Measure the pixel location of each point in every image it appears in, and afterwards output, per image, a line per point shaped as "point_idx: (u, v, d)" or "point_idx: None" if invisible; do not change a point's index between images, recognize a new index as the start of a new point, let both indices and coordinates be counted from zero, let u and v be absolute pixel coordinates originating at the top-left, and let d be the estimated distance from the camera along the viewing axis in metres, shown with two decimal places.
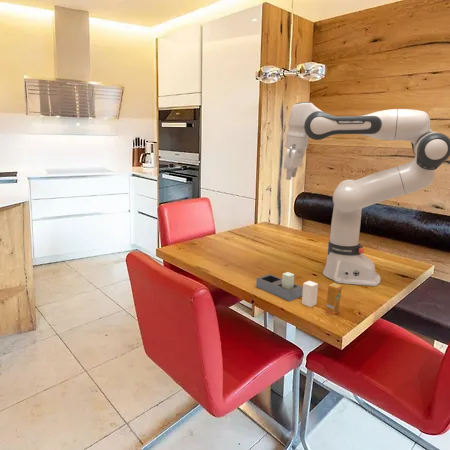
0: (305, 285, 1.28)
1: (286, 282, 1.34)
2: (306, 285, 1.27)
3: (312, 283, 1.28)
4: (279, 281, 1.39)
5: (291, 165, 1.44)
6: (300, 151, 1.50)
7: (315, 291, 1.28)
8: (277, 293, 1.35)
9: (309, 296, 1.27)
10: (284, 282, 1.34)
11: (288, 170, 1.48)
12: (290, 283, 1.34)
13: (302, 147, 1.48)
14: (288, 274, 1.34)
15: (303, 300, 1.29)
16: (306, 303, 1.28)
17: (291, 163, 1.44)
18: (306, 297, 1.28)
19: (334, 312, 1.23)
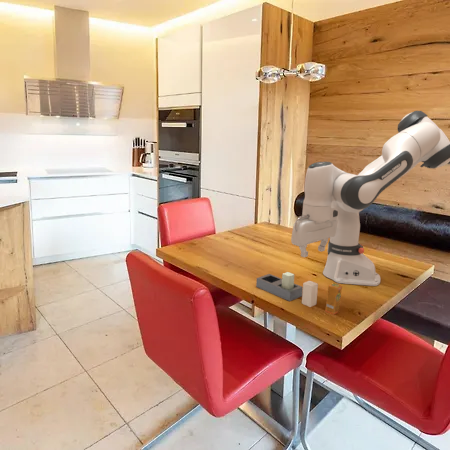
0: (305, 285, 1.28)
1: (286, 282, 1.34)
2: (306, 285, 1.27)
3: (312, 283, 1.28)
4: (279, 281, 1.39)
5: (298, 241, 1.16)
6: (318, 222, 1.19)
7: (315, 291, 1.28)
8: (277, 293, 1.35)
9: (309, 296, 1.27)
10: (284, 282, 1.34)
11: (301, 246, 1.20)
12: (290, 283, 1.34)
13: (318, 218, 1.18)
14: (288, 274, 1.34)
15: (303, 300, 1.29)
16: (306, 303, 1.28)
17: (298, 239, 1.16)
18: (306, 297, 1.28)
19: (334, 312, 1.23)
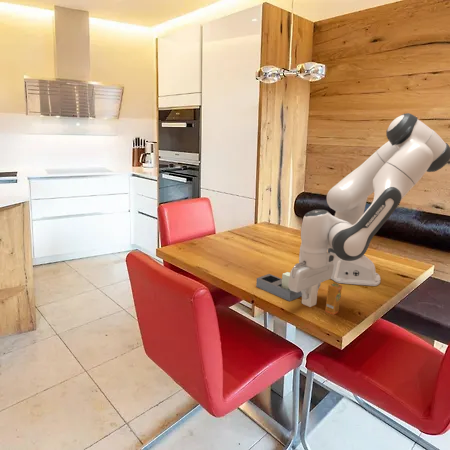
0: None
1: (286, 282, 1.34)
2: None
3: None
4: (279, 281, 1.39)
5: (295, 288, 1.20)
6: (314, 268, 1.23)
7: (315, 291, 1.28)
8: (277, 293, 1.35)
9: (309, 296, 1.27)
10: (284, 282, 1.34)
11: None
12: None
13: (314, 265, 1.22)
14: (288, 274, 1.34)
15: (303, 300, 1.29)
16: (306, 303, 1.28)
17: (295, 286, 1.20)
18: None
19: (334, 312, 1.23)
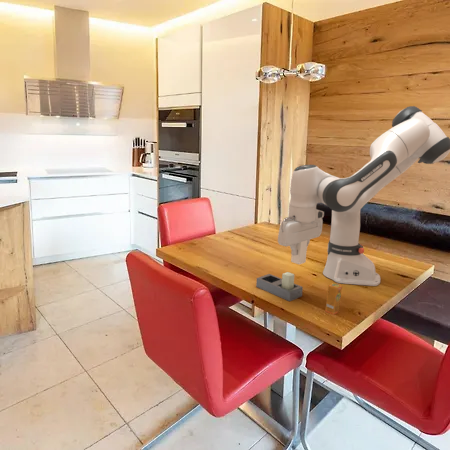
0: None
1: (286, 282, 1.34)
2: None
3: None
4: (279, 281, 1.39)
5: (284, 241, 1.21)
6: (303, 223, 1.24)
7: (304, 247, 1.28)
8: (277, 293, 1.35)
9: (298, 252, 1.27)
10: (284, 282, 1.34)
11: (291, 244, 1.26)
12: (290, 283, 1.34)
13: (304, 219, 1.22)
14: (288, 274, 1.34)
15: (292, 257, 1.30)
16: (296, 259, 1.29)
17: (284, 239, 1.20)
18: None
19: (334, 312, 1.23)
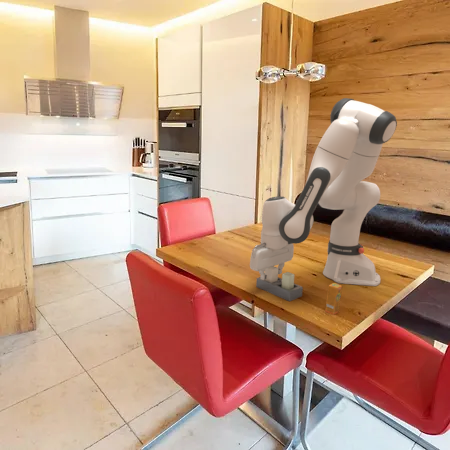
0: (266, 269, 1.40)
1: (286, 282, 1.34)
2: (267, 269, 1.39)
3: (273, 267, 1.40)
4: (279, 281, 1.39)
5: (255, 267, 1.32)
6: (274, 249, 1.35)
7: (275, 275, 1.40)
8: (277, 293, 1.35)
9: (270, 279, 1.39)
10: (284, 282, 1.34)
11: (259, 270, 1.36)
12: (290, 283, 1.34)
13: (273, 246, 1.34)
14: (288, 274, 1.34)
15: None
16: None
17: (255, 265, 1.32)
18: (267, 280, 1.40)
19: (334, 312, 1.23)
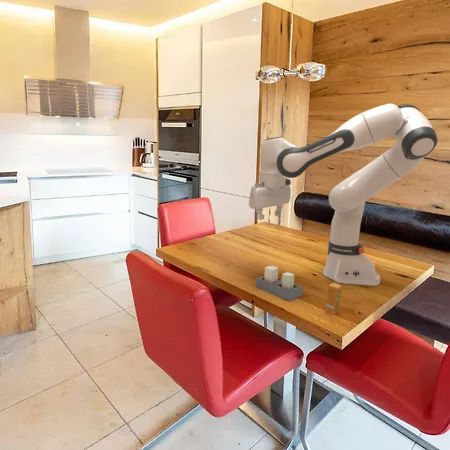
0: (266, 269, 1.40)
1: (286, 282, 1.34)
2: (267, 269, 1.39)
3: (273, 267, 1.40)
4: (279, 281, 1.39)
5: (254, 205, 1.36)
6: (272, 189, 1.39)
7: (275, 275, 1.40)
8: (277, 293, 1.35)
9: (270, 279, 1.39)
10: (284, 282, 1.34)
11: (257, 209, 1.40)
12: (290, 283, 1.34)
13: (271, 185, 1.37)
14: (288, 274, 1.34)
15: None
16: None
17: (254, 203, 1.36)
18: (267, 280, 1.40)
19: (334, 312, 1.23)
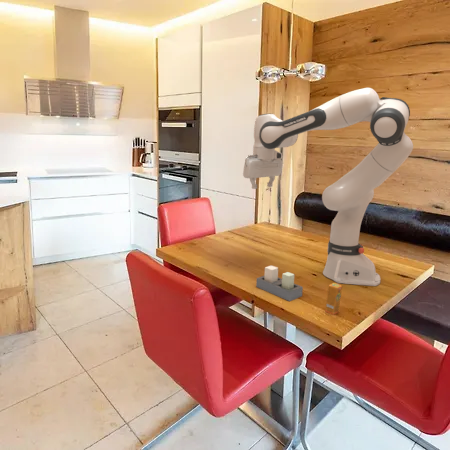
0: (266, 269, 1.40)
1: (286, 282, 1.34)
2: (267, 269, 1.39)
3: (273, 267, 1.40)
4: (279, 281, 1.39)
5: (248, 174, 1.52)
6: (264, 161, 1.55)
7: (275, 275, 1.40)
8: (277, 293, 1.35)
9: (270, 279, 1.39)
10: (284, 282, 1.34)
11: (251, 179, 1.56)
12: (290, 283, 1.34)
13: (264, 157, 1.53)
14: (288, 274, 1.34)
15: None
16: None
17: (247, 172, 1.52)
18: (267, 280, 1.40)
19: (334, 312, 1.23)
